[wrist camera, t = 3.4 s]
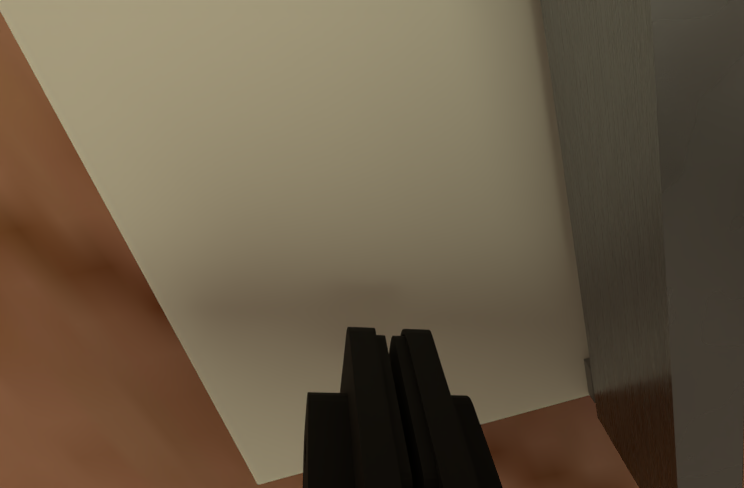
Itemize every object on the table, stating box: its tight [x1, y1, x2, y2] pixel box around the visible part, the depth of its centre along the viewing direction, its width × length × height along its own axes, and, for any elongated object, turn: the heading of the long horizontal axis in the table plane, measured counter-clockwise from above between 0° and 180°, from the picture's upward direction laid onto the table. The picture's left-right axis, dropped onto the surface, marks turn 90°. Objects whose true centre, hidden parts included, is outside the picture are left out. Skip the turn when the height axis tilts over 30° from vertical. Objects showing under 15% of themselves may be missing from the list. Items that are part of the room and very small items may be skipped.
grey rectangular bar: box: [540, 0, 744, 488], centre depth 10 cm, size 15×3×4 cm, turn 16°
